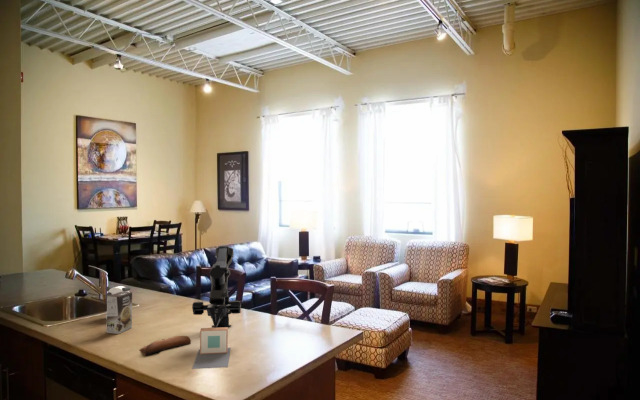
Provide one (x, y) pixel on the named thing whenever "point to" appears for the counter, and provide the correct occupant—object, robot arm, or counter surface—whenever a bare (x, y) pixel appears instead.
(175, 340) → the sunglasses case
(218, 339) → the tile
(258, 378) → the counter surface
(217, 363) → the mat
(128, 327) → the coffee box
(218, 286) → the robot arm
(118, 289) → the white piece
